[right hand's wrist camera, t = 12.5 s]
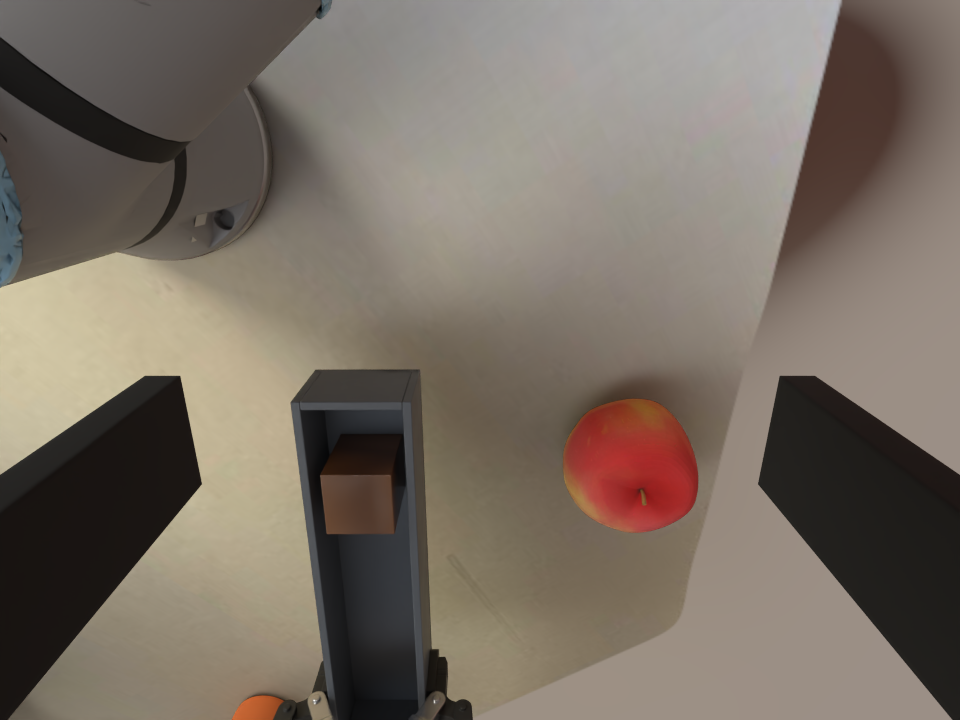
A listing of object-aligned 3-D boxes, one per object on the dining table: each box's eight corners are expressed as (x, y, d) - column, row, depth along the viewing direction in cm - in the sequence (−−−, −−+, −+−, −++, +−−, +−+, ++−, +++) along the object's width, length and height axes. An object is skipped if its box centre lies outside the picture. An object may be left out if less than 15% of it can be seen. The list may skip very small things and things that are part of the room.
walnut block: (345, 487, 38) (326, 534, 33) (340, 433, 36) (319, 475, 32) (405, 487, 38) (394, 534, 33) (402, 433, 36) (391, 475, 32)
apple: (568, 368, 45) (592, 426, 36) (685, 385, 45) (738, 447, 36) (545, 472, 48) (561, 550, 39) (654, 486, 49) (695, 567, 39)
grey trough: (350, 697, 45) (335, 760, 40) (315, 369, 36) (290, 402, 31) (433, 697, 45) (428, 760, 40) (420, 369, 36) (411, 402, 31)
